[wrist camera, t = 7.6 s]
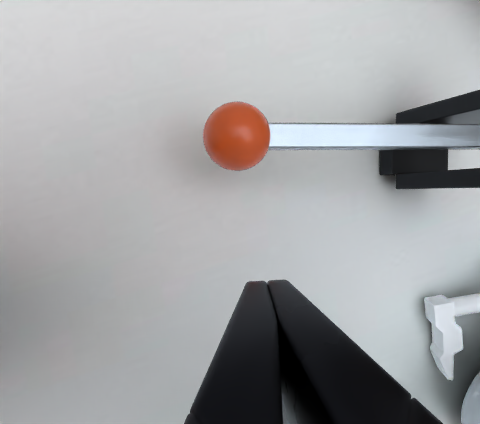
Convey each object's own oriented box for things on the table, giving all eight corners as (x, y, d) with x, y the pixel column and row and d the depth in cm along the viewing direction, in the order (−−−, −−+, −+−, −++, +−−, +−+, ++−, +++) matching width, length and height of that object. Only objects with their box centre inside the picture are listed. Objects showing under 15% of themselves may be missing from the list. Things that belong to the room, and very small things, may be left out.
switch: (202, 173, 17) (206, 168, 14) (200, 110, 17) (204, 92, 14) (524, 168, 20) (583, 164, 17) (526, 113, 20) (585, 100, 17)
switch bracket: (379, 196, 25) (533, 198, 16) (379, 109, 25) (536, 59, 16) (433, 194, 27) (601, 195, 18) (434, 113, 27) (606, 70, 17)
